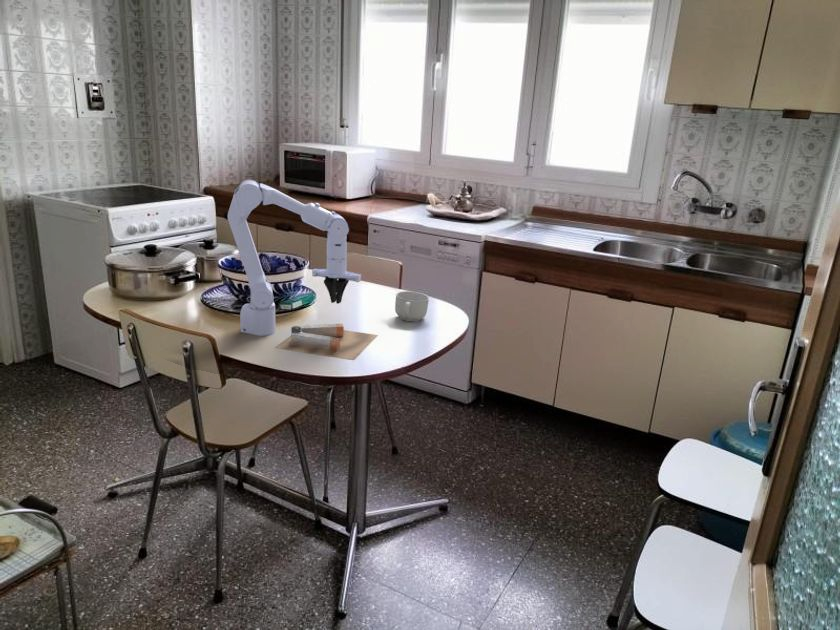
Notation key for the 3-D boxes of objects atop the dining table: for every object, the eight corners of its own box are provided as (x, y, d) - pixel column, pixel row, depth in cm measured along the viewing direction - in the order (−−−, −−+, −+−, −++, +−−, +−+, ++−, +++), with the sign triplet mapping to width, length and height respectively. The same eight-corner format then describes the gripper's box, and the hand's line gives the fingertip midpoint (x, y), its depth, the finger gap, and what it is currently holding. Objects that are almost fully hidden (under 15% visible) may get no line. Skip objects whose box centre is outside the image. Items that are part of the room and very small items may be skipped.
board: (274, 351, 168) (274, 347, 168) (306, 328, 187) (306, 324, 186) (354, 364, 163) (354, 360, 163) (377, 338, 182) (378, 335, 181)
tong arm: (301, 338, 175) (301, 328, 174) (301, 335, 177) (300, 325, 176) (343, 336, 178) (343, 326, 177) (342, 333, 180) (342, 323, 179)
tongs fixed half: (286, 343, 171) (286, 330, 170) (294, 338, 175) (293, 325, 174) (336, 351, 168) (336, 338, 167) (342, 345, 172) (342, 332, 171)
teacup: (402, 311, 207) (403, 288, 204) (432, 316, 203) (434, 293, 201) (385, 323, 195) (386, 299, 192) (416, 329, 191) (418, 305, 188)
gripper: (307, 257, 176) (307, 302, 180) (355, 263, 172) (354, 309, 177) (317, 252, 182) (317, 296, 186) (364, 258, 179) (362, 302, 183)
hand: (336, 302), depth 182 cm, fingers closed
